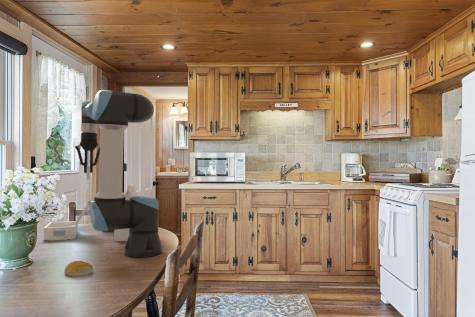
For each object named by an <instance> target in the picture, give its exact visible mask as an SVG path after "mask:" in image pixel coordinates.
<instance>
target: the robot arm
mask: <svg viewBox="0 0 475 317" xmlns="http://www.w3.org/2000/svg"><path fill="white" fill-rule="evenodd" d="M93 99H94V100H93V101H92V100H85V101H82V102H81V108H80V110H81V119H80V120H81V121H80V122H81V124H80V127H81V128H80V131H81V132H80V142H79V144H77V145H75V146H74V147H75V150H76V151H77V152H76V153H77V157H78V158H79V163H80V165H81V166H84V167H83V168H84V170H83V171H84V173H86V180H91V174H93V170H94V167H95V166H97V164H98V160H99V172H98V173H99V175H98V192H96V194H94V196H93V199H94V200H92V201H91V202H90V203H89V208H88V210H89V211H88V212H89V218H90V223H91V226H92V227H93V229H94V230H95V231H97V232H109V231H108V230H118V229H129V236H128V239H127V241H125V242H126V243H125V246H124V248H123V249H124V251H123V254H124V256H126V257H127V256H128V257H131V258H147V257H149V258H150V257H154V256H155V257H156V256H159V255H161V254H163V245H162V241H161V238H160V236H159V220H160V219H159V218H160V216H159V211H160V208H159V207H160V205H159V204H160V203H159V200H158V199H157V198H155V197H152V196H150V197H149V196H142V195H140V196H130V198H129V199H128V200H126V195H125V194H124V192H123V171H124V169H123V168H124V167H123V165H124V164H123V163H124V137H125V136H124V135H125V133H124V132H125V130H126V129H127V128H128V127H129V123H133V124H137V123H139V124H140V123H145V122H147V121H149V120H150V119H152V118H153V116H154V113H155V108H154V104H153V102H152V101H151V100H150V99H149V98H148V97H147V96H144V95H142V94H139V93H133V92H132V93H131V92H127V91H126V92H124V91H119V90H118V91H117V90H109V89H108V90H107V89H103V90H102V89H100V90H99V91H97V93H96V95H95V96H94V98H93ZM98 128H99V129H100V130H99V131H100V133H99V134H100V136H99V137H100V139H99V143H98V133H97V132H98ZM96 148H97V151H96V154H95V159H94V151H95V150H96ZM81 149H83V151H84V160H83V156H82V152H81ZM88 152H89V154H88ZM88 155H89V156H88ZM88 158H89V166H88Z"/></svg>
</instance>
